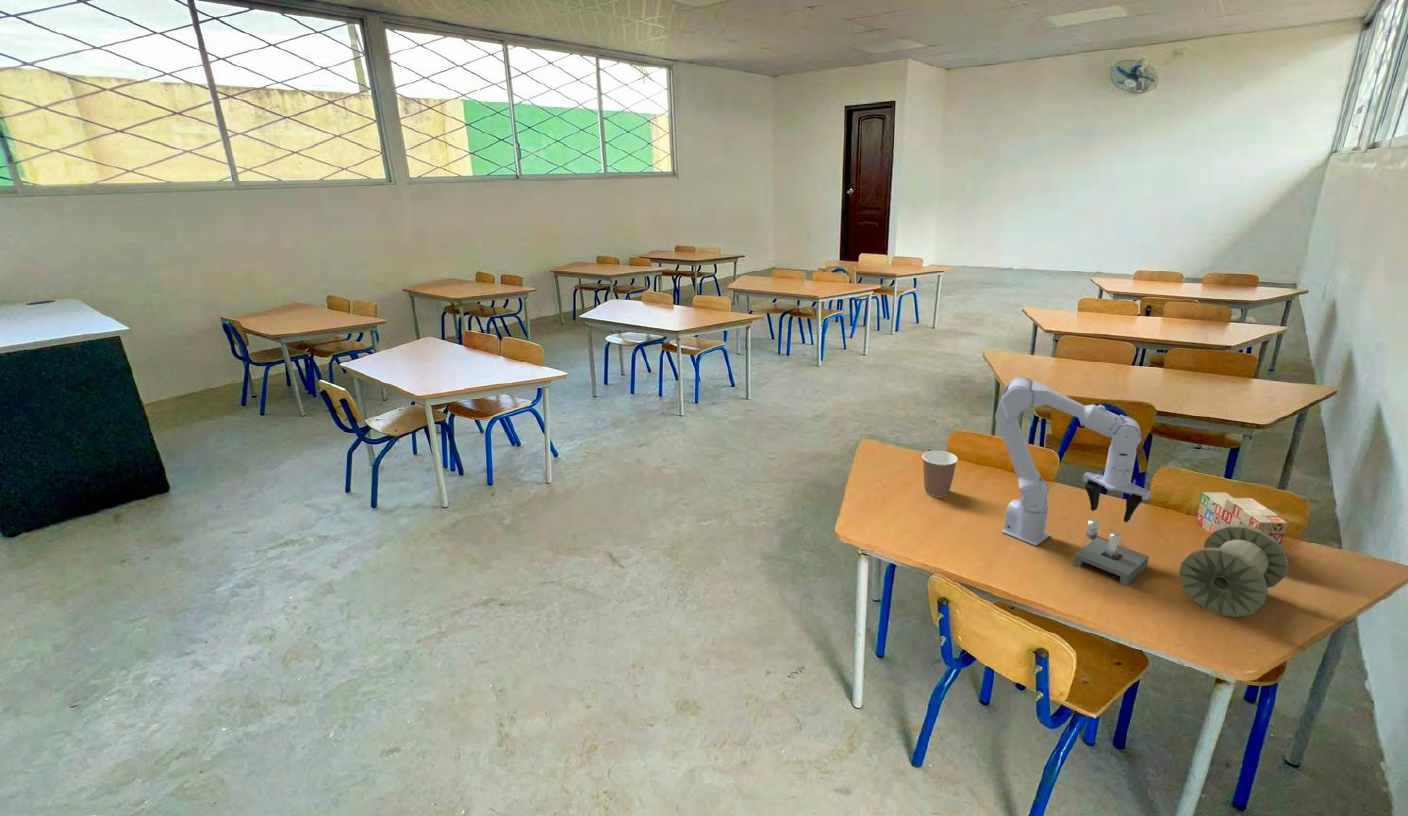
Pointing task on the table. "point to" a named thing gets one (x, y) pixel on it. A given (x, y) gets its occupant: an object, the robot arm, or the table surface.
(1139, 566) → the board
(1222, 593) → the spool
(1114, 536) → the long pin
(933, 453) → the coffee cup
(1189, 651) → the table surface
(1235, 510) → the stack of blocks
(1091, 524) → the short pin
